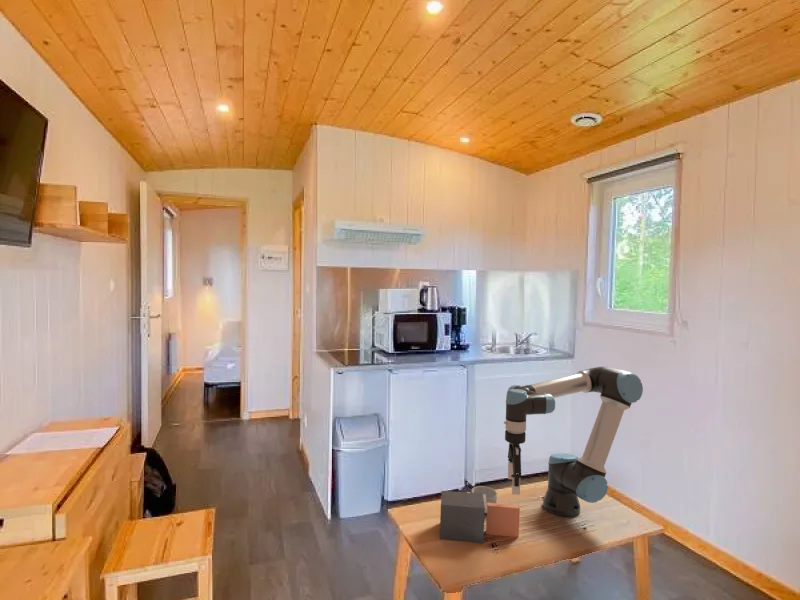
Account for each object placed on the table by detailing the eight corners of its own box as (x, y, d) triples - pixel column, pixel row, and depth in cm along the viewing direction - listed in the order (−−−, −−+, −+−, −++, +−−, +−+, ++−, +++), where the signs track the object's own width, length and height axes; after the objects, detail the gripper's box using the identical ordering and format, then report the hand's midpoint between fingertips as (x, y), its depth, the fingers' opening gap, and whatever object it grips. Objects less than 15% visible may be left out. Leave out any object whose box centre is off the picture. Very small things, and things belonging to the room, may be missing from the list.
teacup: (495, 505, 200) (495, 486, 200) (498, 517, 189) (498, 498, 189) (462, 502, 202) (463, 484, 201) (463, 514, 191) (464, 495, 191)
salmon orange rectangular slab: (517, 533, 177) (518, 505, 177) (518, 537, 175) (519, 508, 174) (485, 530, 179) (486, 502, 178) (486, 534, 176) (487, 505, 176)
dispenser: (484, 526, 181) (485, 494, 181) (486, 543, 170) (487, 508, 169) (440, 522, 183) (441, 490, 183) (439, 539, 172) (440, 504, 171)
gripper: (502, 420, 188) (500, 472, 189) (509, 440, 163) (507, 500, 164) (520, 421, 187) (519, 473, 188) (530, 442, 162) (528, 502, 163)
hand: (513, 486), depth 176 cm, fingers open, 13 cm apart
